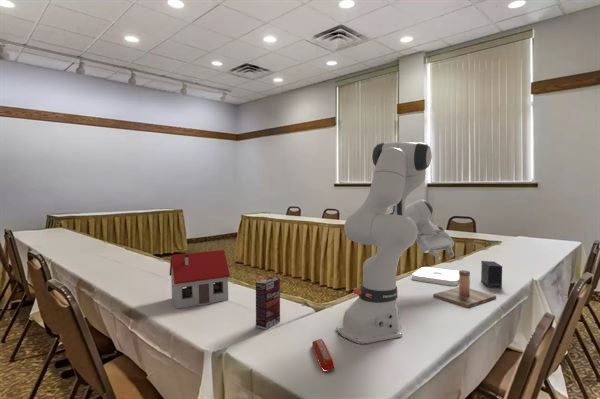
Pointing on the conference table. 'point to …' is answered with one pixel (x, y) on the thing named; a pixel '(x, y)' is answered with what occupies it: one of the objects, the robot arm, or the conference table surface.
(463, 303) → the board
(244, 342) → the conference table surface
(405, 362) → the conference table surface
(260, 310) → the supplement box
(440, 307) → the conference table surface
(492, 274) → the small box
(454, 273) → the computer
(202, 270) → the house model
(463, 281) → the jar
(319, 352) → the candy bar
